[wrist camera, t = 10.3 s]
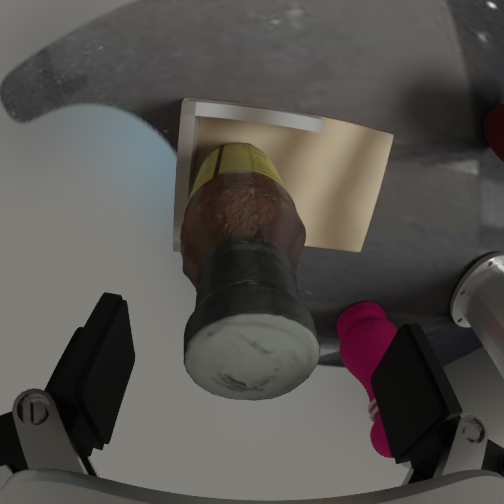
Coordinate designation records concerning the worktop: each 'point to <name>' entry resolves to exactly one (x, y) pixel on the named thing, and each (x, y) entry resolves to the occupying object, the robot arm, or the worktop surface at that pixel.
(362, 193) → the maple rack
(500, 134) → the mug
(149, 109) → the worktop surface
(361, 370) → the pepper mill
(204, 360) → the sauce bottle
